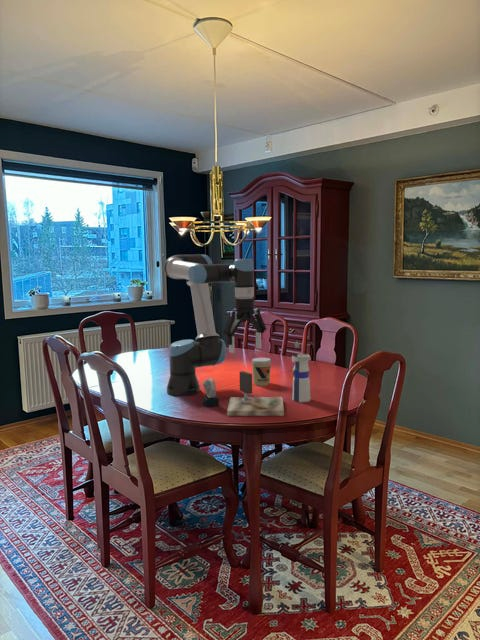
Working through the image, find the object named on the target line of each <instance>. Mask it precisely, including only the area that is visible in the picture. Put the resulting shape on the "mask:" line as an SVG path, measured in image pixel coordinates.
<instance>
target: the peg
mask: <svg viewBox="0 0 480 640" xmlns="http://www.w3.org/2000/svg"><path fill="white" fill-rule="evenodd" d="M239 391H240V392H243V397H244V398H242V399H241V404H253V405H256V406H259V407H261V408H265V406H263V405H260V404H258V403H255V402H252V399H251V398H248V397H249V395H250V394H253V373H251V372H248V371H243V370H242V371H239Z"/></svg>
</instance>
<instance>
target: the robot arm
mask: <svg viewBox="0 0 480 640" xmlns="http://www.w3.org/2000/svg"><path fill="white" fill-rule="evenodd" d="M254 270H255V267H254V260H253V259H252V258H236V259H235V260H234V262H233V263H215V264H213V261H212V259H211V257H210V256H208V255H207V254H203V253H202V254H200V253H197V254H195V253H194V254H175V255H172V256H170V257H168V258H167V259H166V260H165V262H164V264H163V271H164V273H165V275H166V276H167V277H169V278H170V279H174V280H185V281H186V285H187V286H188V287H190V292H191V297H192V298H191V299H192V306H193V312H194V320H195V326H196V331H197V333H196V334H197V336H196V337H195V339H181V340H177V341H174V342H172V343H171V344H170V345H169V351H168V356H169V378H168V383H167V386H166V392H167V394H168V395H170V396H177V397H178V396H179V397H180V396H181V397H183V396H184V397H185V396H191V395H195V394H198V393H199V392H200V391H201V386H200V383H199V380H198V378H197V374H196V372H197V371H196V368H202V367H208V366H209V367H210V366H212V367H213V366H216V365H221V364H222V363H223V362H225V360H226V356H227V345H228V352H229V353H231V354H235V352H236V351H235V348H236V347H235V336H234V334H235V333H236V331H237V330H238V328H239V327H240V324H242V323H244V322H250V323H251V325H252V326H253V328H254V329H255V331H256V332H255V349H259V350H262V341H263V334H264V332H266V331H267V326H266V324H265V322H264V320H263V317H262V315H261V310H260V308H254V307H255V299H254V297H255V287H254V285H255V283H254V282H255V280H254V279H255V278H254V275H255V273H254ZM219 283H223V284H224V283H234V297H235V299H234V300H235V301H234V304H235V306H234V308H235V311H234V310H230V311H229V313H228V318H227V320H226V324H225V326H224V329H223V332H222V335H223V336H226V337H227V339H226V340H227V345H226V341H224V340H223V339H222V338H221V337H220V335H219V334H218V333H217V332H216V326H215V321H214V320H215V319H214V315H213V314H214V313H213V308H212V300H211V295H210V293H211V292H210V287H209V284H219Z"/></svg>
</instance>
